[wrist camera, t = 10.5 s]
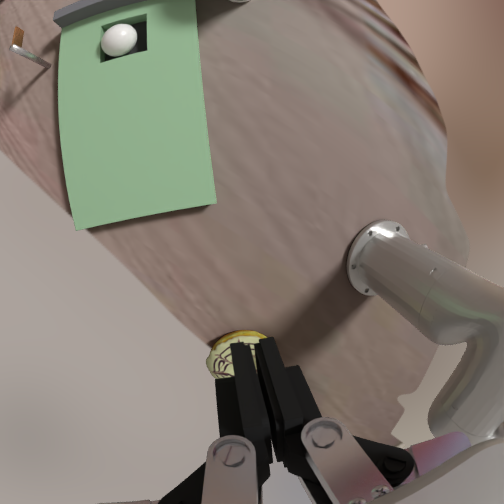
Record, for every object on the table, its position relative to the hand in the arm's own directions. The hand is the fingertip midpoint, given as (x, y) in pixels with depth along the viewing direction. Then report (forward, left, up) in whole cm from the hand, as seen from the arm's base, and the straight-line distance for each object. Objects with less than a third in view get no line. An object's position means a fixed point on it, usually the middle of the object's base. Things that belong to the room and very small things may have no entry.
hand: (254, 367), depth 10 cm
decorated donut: (-1, +21, -26) cm, 34 cm away
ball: (+9, -25, -23) cm, 35 cm away
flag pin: (+21, -28, -26) cm, 43 cm away
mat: (+8, -18, -26) cm, 32 cm away
